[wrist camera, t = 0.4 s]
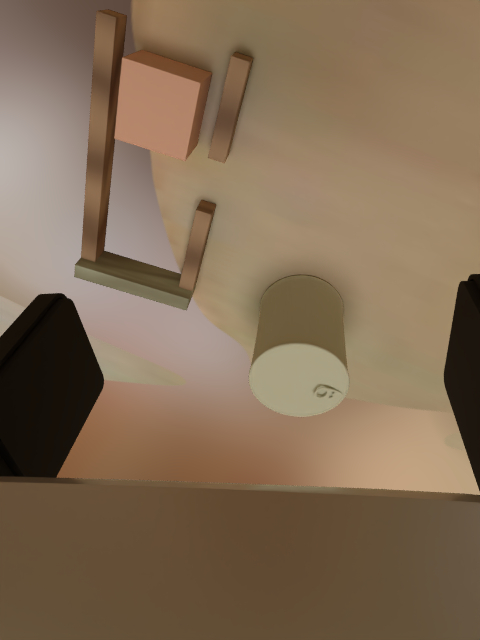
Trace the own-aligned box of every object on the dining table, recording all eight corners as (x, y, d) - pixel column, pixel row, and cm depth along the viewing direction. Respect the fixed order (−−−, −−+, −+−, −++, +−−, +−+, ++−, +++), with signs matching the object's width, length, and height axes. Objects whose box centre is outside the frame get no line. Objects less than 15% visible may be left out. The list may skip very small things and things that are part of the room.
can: (324, 351, 54) (327, 431, 44) (250, 329, 53) (235, 405, 44) (357, 289, 48) (368, 365, 38) (274, 263, 48) (264, 334, 38)
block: (142, 49, 38) (122, 57, 34) (212, 72, 38) (200, 83, 34) (133, 123, 41) (114, 138, 37) (197, 144, 41) (185, 161, 37)
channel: (108, 9, 36) (88, 11, 33) (253, 57, 37) (247, 64, 33) (89, 258, 50) (74, 276, 47) (194, 289, 51) (186, 310, 48)
